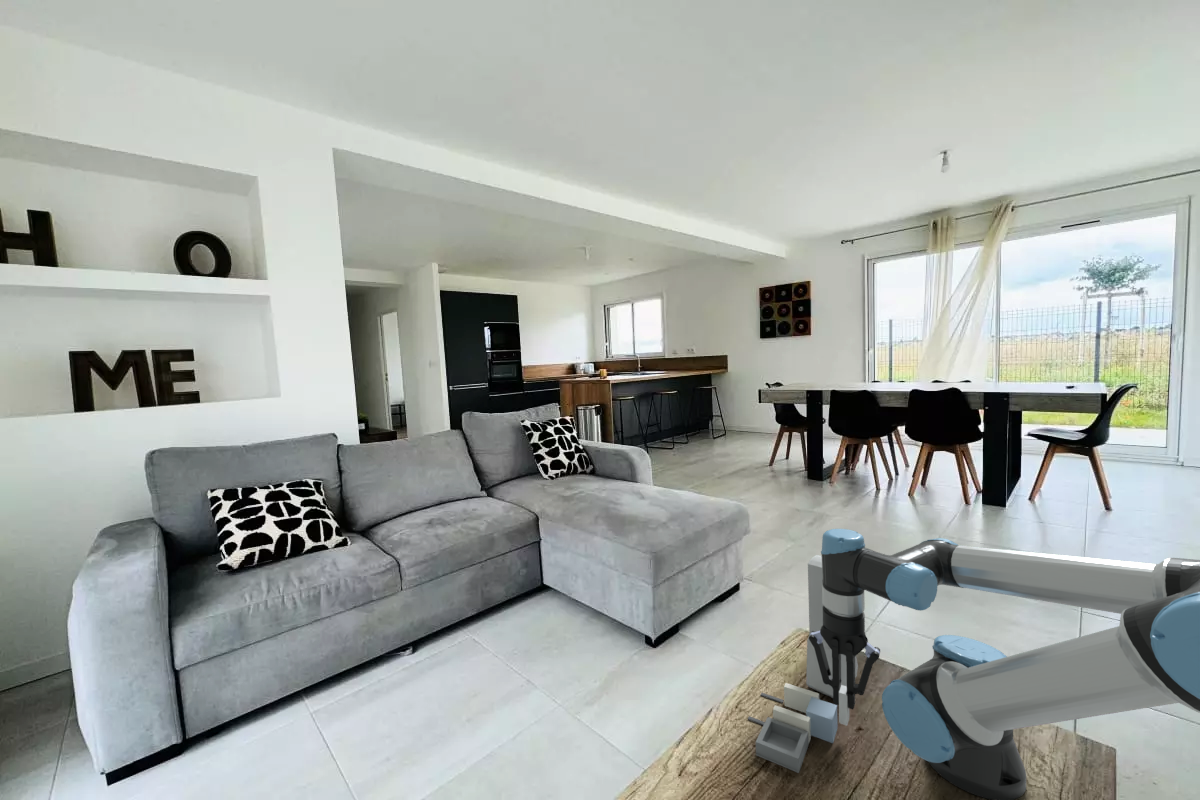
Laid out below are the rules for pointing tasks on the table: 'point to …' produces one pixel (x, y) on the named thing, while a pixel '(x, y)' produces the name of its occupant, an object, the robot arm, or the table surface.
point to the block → (822, 719)
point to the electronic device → (815, 624)
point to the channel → (795, 707)
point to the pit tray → (782, 744)
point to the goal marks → (769, 698)
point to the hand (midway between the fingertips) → (844, 720)
